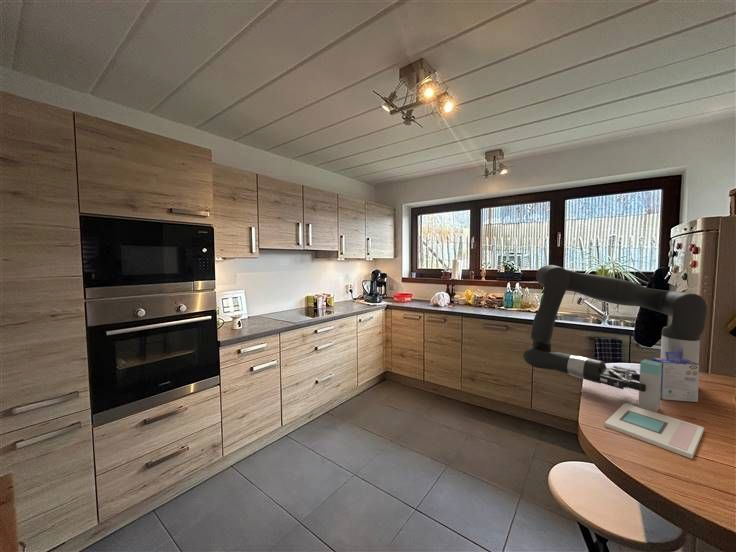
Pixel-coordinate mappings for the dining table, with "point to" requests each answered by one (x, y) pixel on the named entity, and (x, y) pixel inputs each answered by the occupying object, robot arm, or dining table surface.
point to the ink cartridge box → (678, 378)
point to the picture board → (657, 429)
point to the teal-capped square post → (650, 385)
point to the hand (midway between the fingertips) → (649, 384)
